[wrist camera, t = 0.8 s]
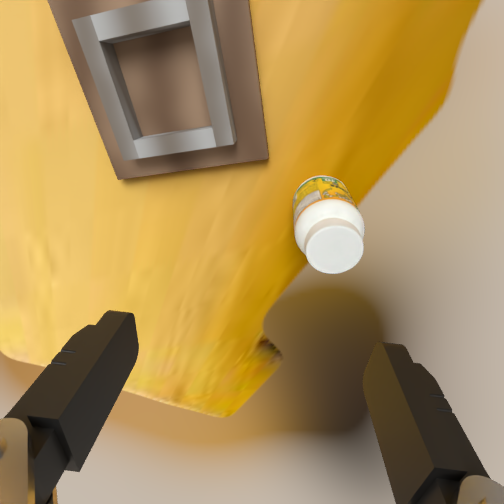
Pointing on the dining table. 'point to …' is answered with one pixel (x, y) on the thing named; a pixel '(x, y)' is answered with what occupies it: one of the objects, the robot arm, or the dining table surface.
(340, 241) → the supplement bottle
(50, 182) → the dining table surface
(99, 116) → the socket holder
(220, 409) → the dining table surface
